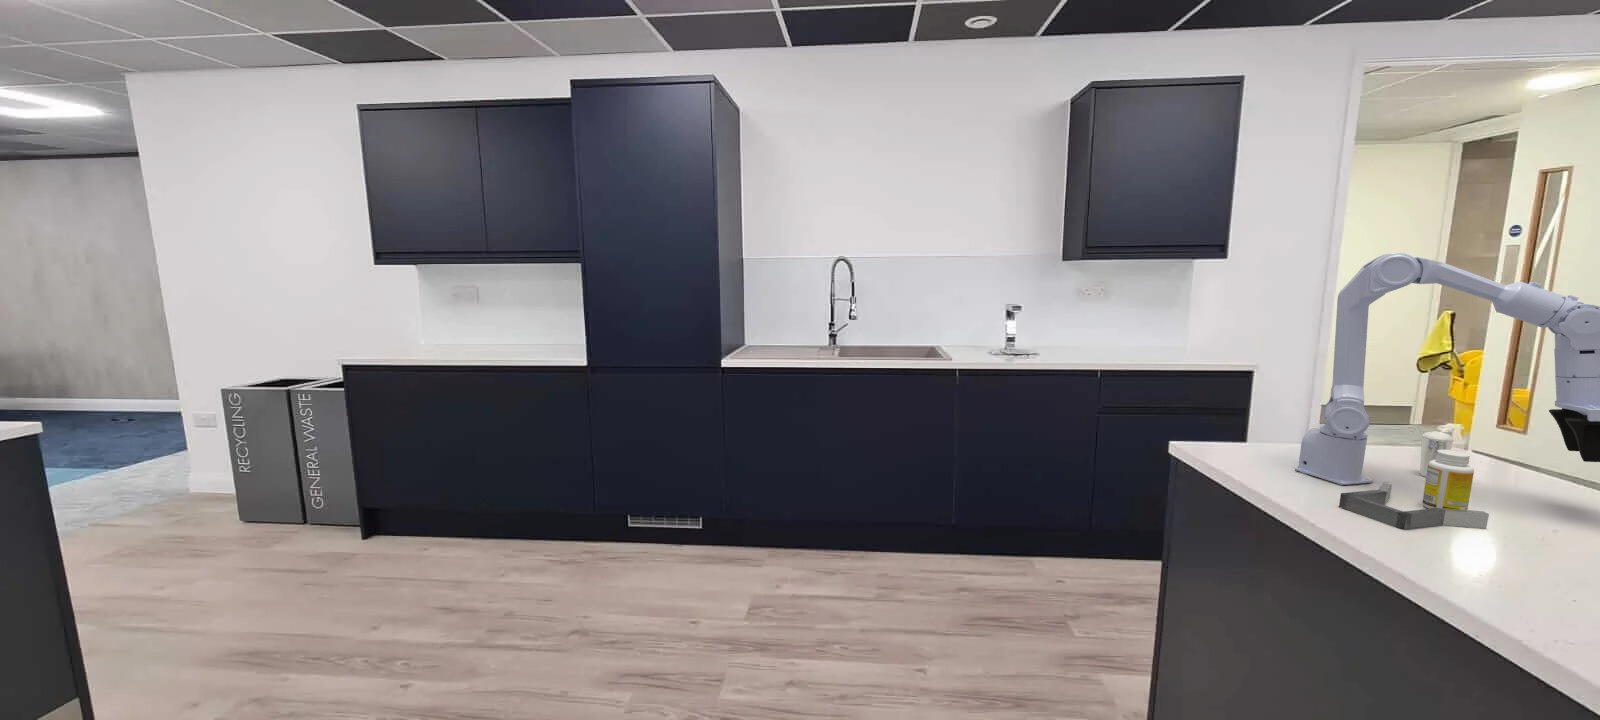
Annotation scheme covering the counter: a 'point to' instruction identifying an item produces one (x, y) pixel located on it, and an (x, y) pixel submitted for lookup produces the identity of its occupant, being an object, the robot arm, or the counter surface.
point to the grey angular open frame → (1375, 508)
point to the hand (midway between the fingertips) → (1585, 456)
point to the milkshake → (1433, 447)
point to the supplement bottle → (1448, 481)
